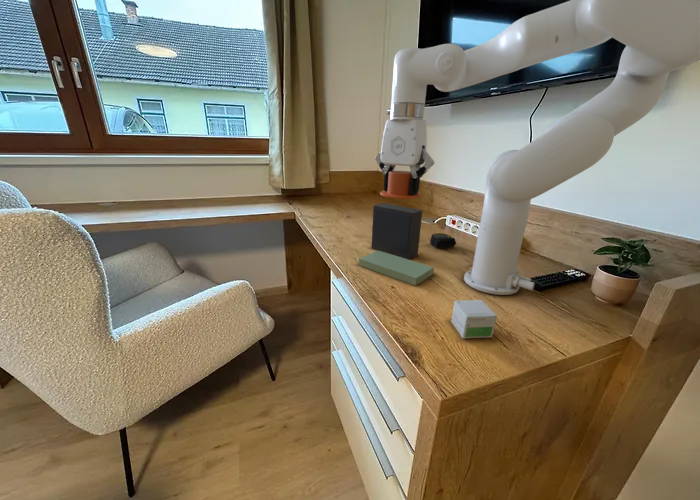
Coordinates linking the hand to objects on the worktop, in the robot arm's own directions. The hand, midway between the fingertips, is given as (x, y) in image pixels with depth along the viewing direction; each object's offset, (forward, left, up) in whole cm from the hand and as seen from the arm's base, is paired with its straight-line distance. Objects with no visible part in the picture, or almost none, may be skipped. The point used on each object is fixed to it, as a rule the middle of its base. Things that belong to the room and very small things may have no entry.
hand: (400, 191), depth 76 cm
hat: (0, 0, -1) cm, 1 cm away
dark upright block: (+8, -12, -21) cm, 25 cm away
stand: (0, 0, -21) cm, 21 cm away
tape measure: (-1, -27, -21) cm, 34 cm away
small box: (-26, +13, -21) cm, 36 cm away
